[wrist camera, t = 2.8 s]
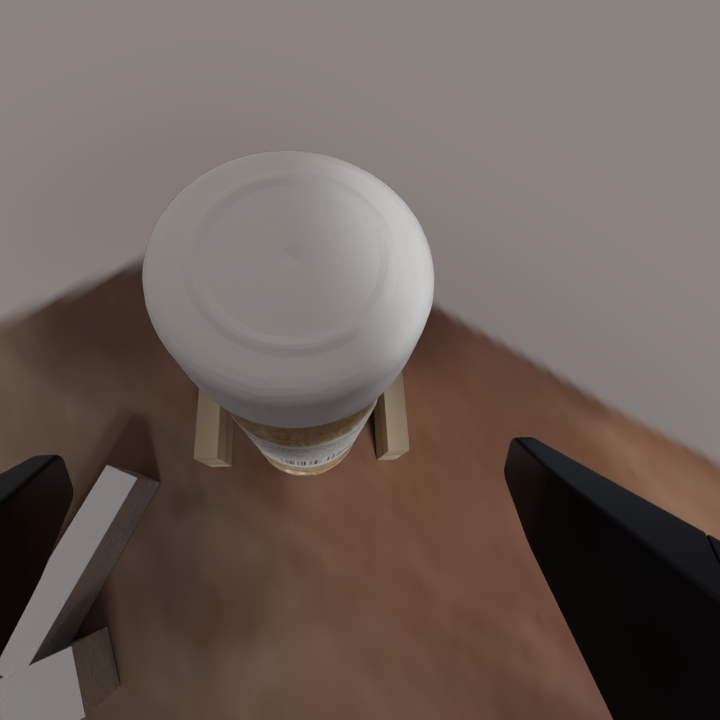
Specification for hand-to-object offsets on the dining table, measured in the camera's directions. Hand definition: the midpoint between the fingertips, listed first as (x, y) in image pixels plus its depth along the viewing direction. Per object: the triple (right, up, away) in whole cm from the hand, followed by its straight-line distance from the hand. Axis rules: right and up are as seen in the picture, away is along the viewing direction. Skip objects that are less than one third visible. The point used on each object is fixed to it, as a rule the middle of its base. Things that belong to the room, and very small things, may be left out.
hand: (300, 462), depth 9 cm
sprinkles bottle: (-1, -1, +10) cm, 11 cm away
